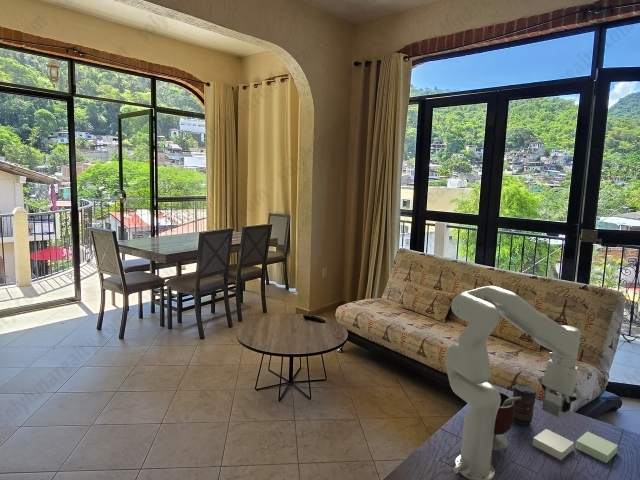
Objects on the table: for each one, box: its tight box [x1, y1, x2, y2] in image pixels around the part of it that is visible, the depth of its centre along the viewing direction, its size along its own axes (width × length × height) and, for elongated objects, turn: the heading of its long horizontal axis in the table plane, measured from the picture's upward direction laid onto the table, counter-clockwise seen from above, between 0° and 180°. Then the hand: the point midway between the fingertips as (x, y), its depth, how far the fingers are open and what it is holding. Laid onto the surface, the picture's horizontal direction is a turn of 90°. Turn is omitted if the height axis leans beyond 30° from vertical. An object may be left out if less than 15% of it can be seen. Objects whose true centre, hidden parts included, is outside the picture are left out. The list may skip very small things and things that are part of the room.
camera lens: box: [512, 383, 537, 428], centre depth 166 cm, size 8×8×15 cm
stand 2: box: [575, 430, 619, 464], centre depth 150 cm, size 10×10×3 cm
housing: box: [541, 389, 572, 418], centre depth 148 cm, size 10×6×7 cm, turn 127°
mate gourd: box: [492, 390, 521, 452], centre depth 153 cm, size 16×14×20 cm
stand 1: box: [532, 428, 575, 461], centre depth 151 cm, size 10×10×3 cm
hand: (556, 406), depth 149 cm, fingers closed on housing, 5 cm apart
